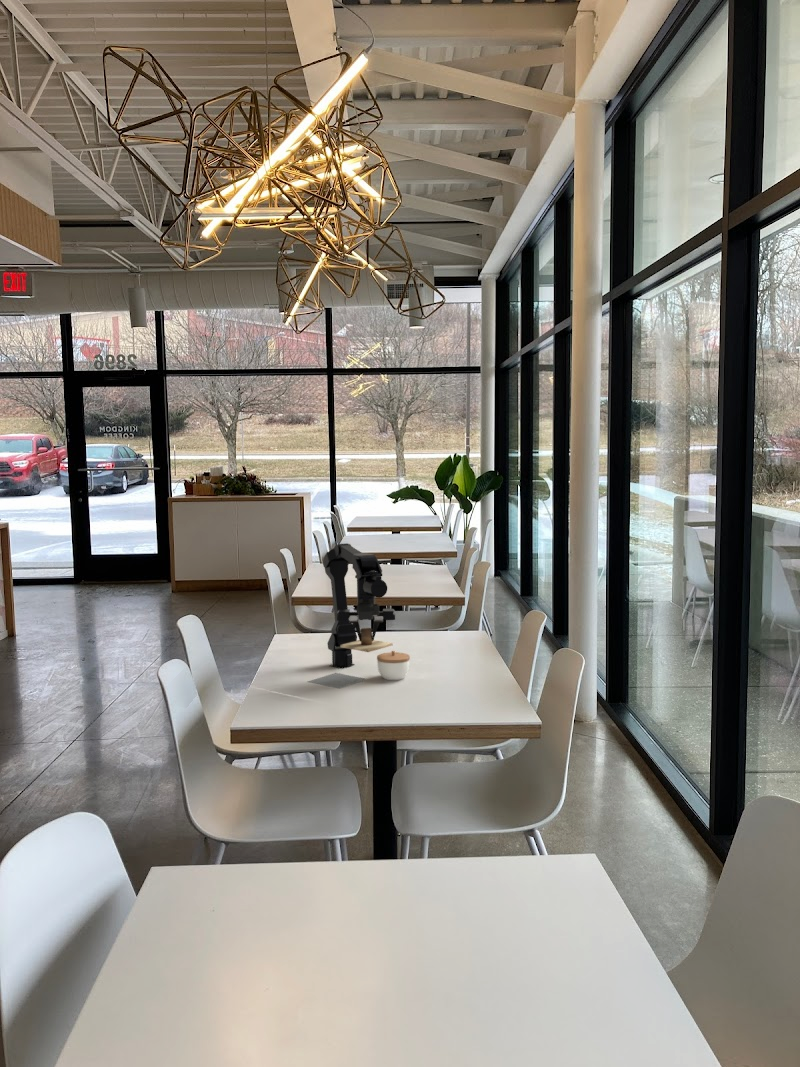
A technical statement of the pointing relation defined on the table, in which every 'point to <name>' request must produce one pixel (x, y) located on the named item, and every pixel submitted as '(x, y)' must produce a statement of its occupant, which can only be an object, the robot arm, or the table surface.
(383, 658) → the lidded jar
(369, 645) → the lid
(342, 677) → the mat
